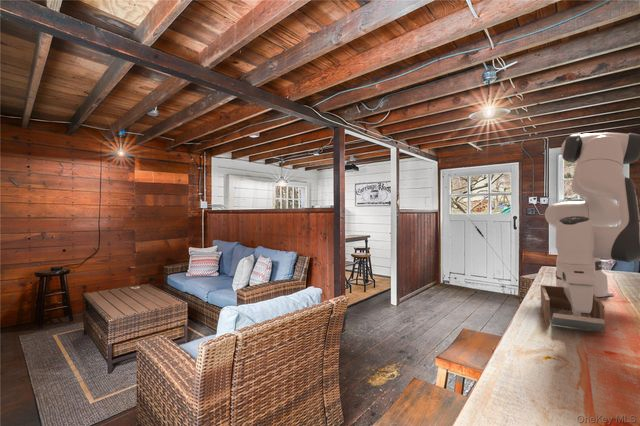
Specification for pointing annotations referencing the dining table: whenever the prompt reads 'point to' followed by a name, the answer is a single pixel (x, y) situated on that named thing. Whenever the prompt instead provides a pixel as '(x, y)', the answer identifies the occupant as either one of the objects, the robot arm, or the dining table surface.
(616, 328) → the dining table surface
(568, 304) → the crate
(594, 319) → the panel
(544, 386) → the dining table surface
